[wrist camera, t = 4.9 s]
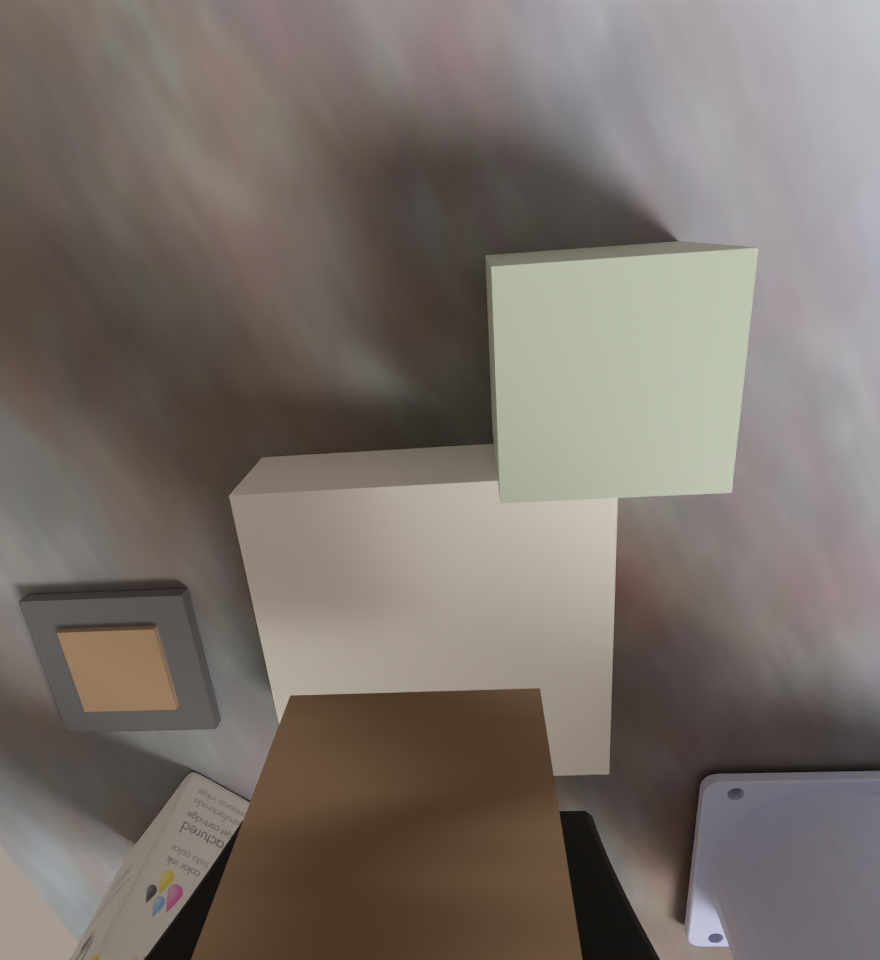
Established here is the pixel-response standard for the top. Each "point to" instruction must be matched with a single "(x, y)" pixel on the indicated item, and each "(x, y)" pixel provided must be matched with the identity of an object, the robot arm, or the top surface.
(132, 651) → the tile
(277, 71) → the top surface
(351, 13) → the top surface
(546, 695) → the base block
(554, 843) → the walnut block
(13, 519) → the top surface
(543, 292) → the sage block
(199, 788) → the ink cartridge box
